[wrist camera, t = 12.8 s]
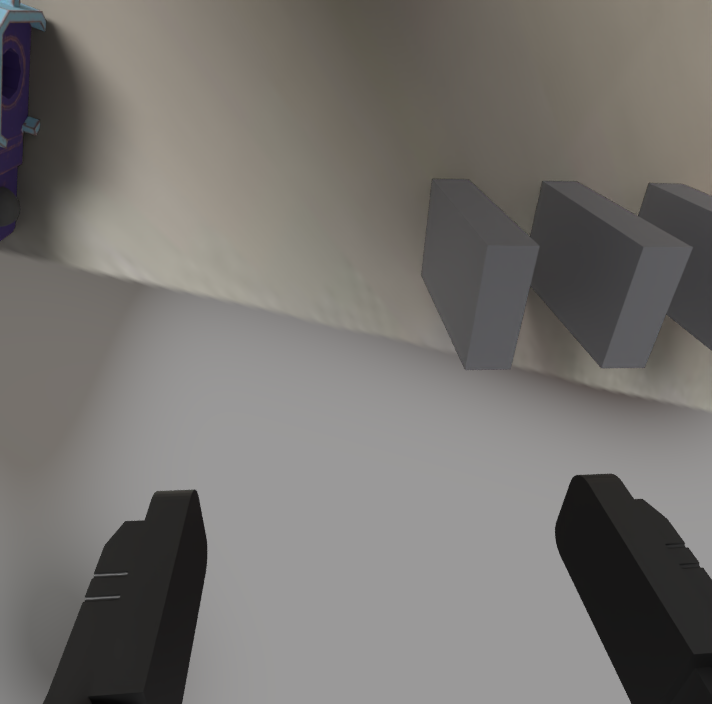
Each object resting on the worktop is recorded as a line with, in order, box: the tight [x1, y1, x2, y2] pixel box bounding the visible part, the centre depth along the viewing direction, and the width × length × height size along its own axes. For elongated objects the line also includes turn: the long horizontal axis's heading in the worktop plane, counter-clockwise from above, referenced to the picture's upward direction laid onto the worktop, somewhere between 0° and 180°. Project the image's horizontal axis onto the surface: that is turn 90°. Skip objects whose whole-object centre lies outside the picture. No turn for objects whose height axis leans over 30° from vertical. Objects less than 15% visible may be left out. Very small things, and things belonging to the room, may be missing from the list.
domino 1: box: [421, 179, 540, 370], centre depth 22 cm, size 2×5×9 cm, turn 178°
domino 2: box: [530, 181, 693, 368], centre depth 23 cm, size 2×5×9 cm, turn 178°
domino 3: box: [638, 183, 712, 350], centre depth 23 cm, size 2×5×9 cm, turn 178°
